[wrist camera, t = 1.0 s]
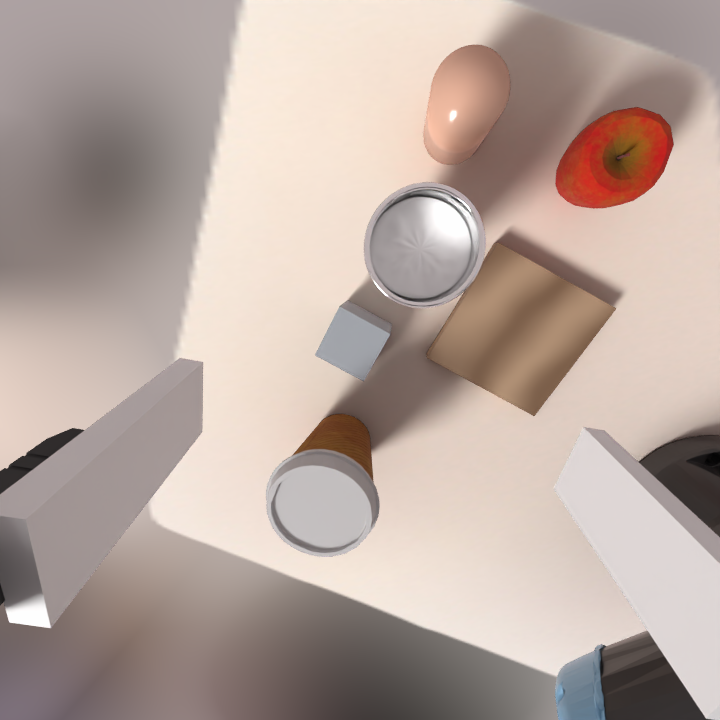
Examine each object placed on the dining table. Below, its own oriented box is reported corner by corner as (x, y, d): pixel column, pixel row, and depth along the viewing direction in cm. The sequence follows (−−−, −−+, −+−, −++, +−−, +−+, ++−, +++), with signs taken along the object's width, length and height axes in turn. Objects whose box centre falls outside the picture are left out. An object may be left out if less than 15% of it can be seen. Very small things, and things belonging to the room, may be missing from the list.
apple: (590, 117, 30) (651, 72, 22) (634, 177, 30) (706, 152, 23) (525, 176, 31) (562, 152, 24) (568, 231, 32) (616, 224, 25)
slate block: (392, 323, 36) (390, 334, 31) (368, 365, 38) (363, 381, 33) (347, 299, 36) (339, 306, 31) (325, 342, 37) (314, 355, 33)
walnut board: (607, 306, 33) (616, 308, 32) (529, 409, 37) (534, 416, 35) (494, 243, 33) (498, 242, 31) (426, 354, 36) (427, 358, 35)
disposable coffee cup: (383, 480, 41) (376, 567, 30) (301, 473, 42) (263, 554, 30) (387, 402, 38) (381, 465, 27) (299, 396, 39) (257, 454, 28)
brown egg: (495, 116, 30) (526, 69, 23) (462, 175, 32) (481, 149, 24) (443, 86, 30) (456, 29, 22) (412, 147, 32) (416, 112, 24)
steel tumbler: (390, 202, 33) (381, 160, 19) (463, 225, 33) (511, 200, 18) (368, 277, 35) (344, 291, 21) (436, 298, 35) (461, 328, 20)
